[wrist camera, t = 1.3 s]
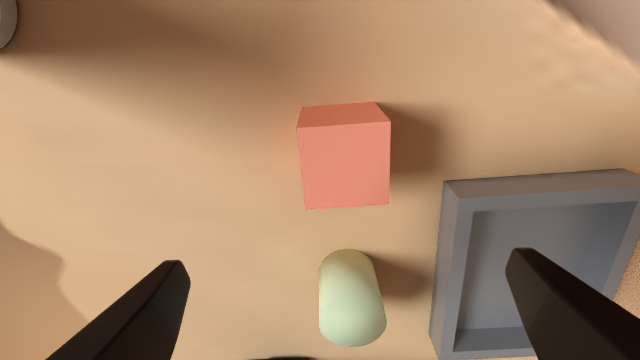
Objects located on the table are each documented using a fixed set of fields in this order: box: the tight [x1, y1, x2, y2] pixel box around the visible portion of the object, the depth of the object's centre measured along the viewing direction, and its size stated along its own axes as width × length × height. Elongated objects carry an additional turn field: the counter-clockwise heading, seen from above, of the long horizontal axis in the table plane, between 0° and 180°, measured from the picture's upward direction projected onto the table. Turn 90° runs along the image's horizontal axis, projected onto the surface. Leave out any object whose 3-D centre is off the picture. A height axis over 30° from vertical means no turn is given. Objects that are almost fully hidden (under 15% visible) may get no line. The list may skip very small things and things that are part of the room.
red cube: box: [296, 102, 391, 210], centre depth 18 cm, size 4×4×5 cm
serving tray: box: [429, 169, 640, 360], centre depth 23 cm, size 15×12×3 cm
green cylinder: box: [319, 249, 387, 347], centre depth 22 cm, size 4×4×5 cm
